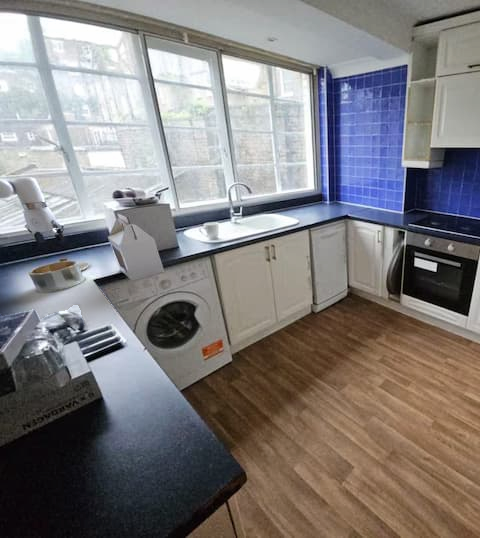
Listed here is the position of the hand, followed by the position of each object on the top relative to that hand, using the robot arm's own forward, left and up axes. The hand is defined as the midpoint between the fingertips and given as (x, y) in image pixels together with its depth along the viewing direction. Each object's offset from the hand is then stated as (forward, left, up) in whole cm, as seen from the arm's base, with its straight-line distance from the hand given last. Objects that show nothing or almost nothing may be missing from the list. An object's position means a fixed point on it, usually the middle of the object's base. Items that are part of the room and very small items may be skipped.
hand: (51, 242), depth 138 cm
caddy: (+8, -12, -17) cm, 22 cm away
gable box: (+37, -1, -17) cm, 41 cm away
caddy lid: (-3, +5, -16) cm, 17 cm away
